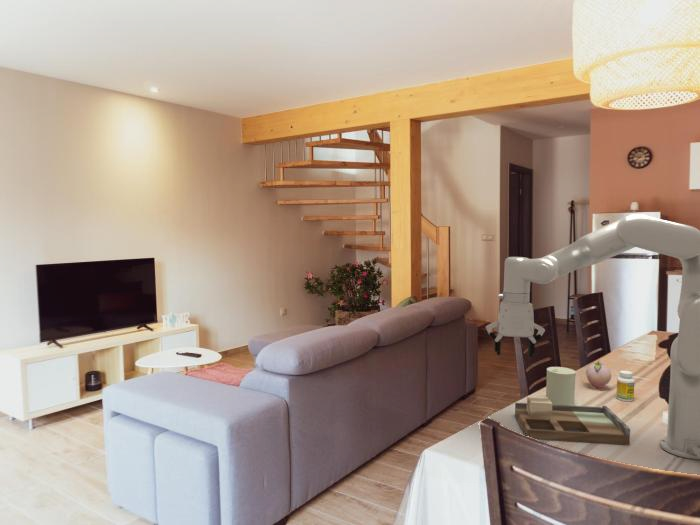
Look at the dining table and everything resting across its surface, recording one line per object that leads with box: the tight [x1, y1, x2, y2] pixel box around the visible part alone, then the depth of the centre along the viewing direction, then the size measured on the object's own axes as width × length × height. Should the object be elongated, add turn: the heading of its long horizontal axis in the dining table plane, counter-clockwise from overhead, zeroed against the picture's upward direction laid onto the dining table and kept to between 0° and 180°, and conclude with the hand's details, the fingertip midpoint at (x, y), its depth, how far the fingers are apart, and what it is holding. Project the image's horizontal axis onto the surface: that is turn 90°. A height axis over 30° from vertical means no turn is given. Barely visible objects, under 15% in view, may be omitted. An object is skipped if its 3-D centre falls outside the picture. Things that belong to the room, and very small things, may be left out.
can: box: [545, 366, 577, 406], centre depth 179 cm, size 9×9×12 cm
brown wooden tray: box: [514, 402, 631, 446], centre depth 157 cm, size 19×27×4 cm
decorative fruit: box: [585, 361, 612, 389], centre depth 198 cm, size 9×8×10 cm
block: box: [526, 395, 552, 419], centre depth 162 cm, size 6×6×4 cm
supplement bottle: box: [616, 370, 635, 402], centre depth 186 cm, size 5×5×10 cm
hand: (514, 354), depth 162 cm, fingers open, 9 cm apart
